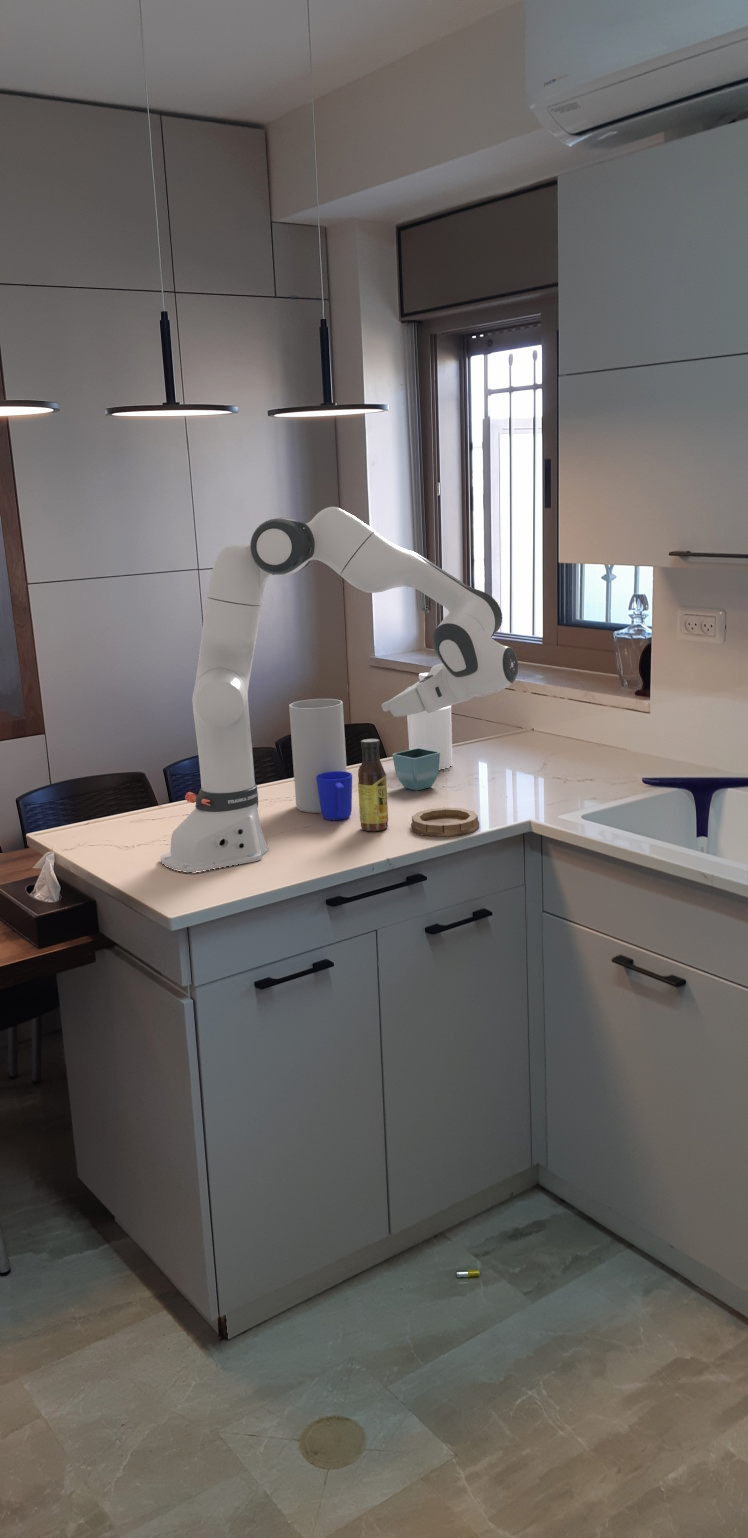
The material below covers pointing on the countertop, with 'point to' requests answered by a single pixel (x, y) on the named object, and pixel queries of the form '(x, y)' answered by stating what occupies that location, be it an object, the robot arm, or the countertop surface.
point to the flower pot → (417, 768)
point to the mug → (335, 794)
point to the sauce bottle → (372, 788)
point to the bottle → (432, 732)
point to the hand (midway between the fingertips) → (395, 699)
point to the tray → (444, 822)
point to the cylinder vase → (315, 746)
